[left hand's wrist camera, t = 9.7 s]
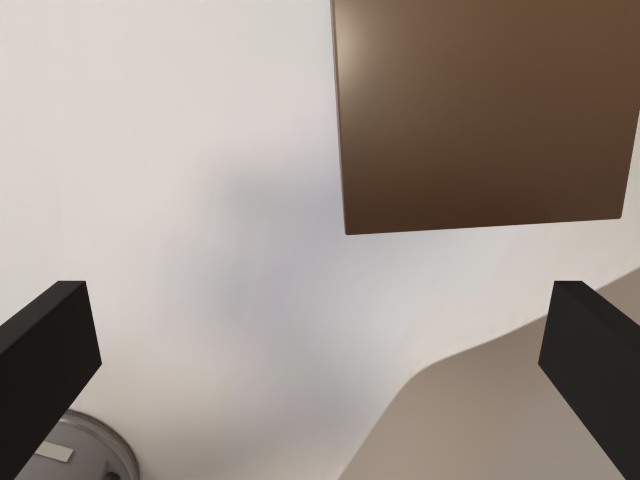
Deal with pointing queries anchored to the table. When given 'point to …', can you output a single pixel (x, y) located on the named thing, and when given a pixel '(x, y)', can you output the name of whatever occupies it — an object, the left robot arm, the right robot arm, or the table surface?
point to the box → (484, 111)
